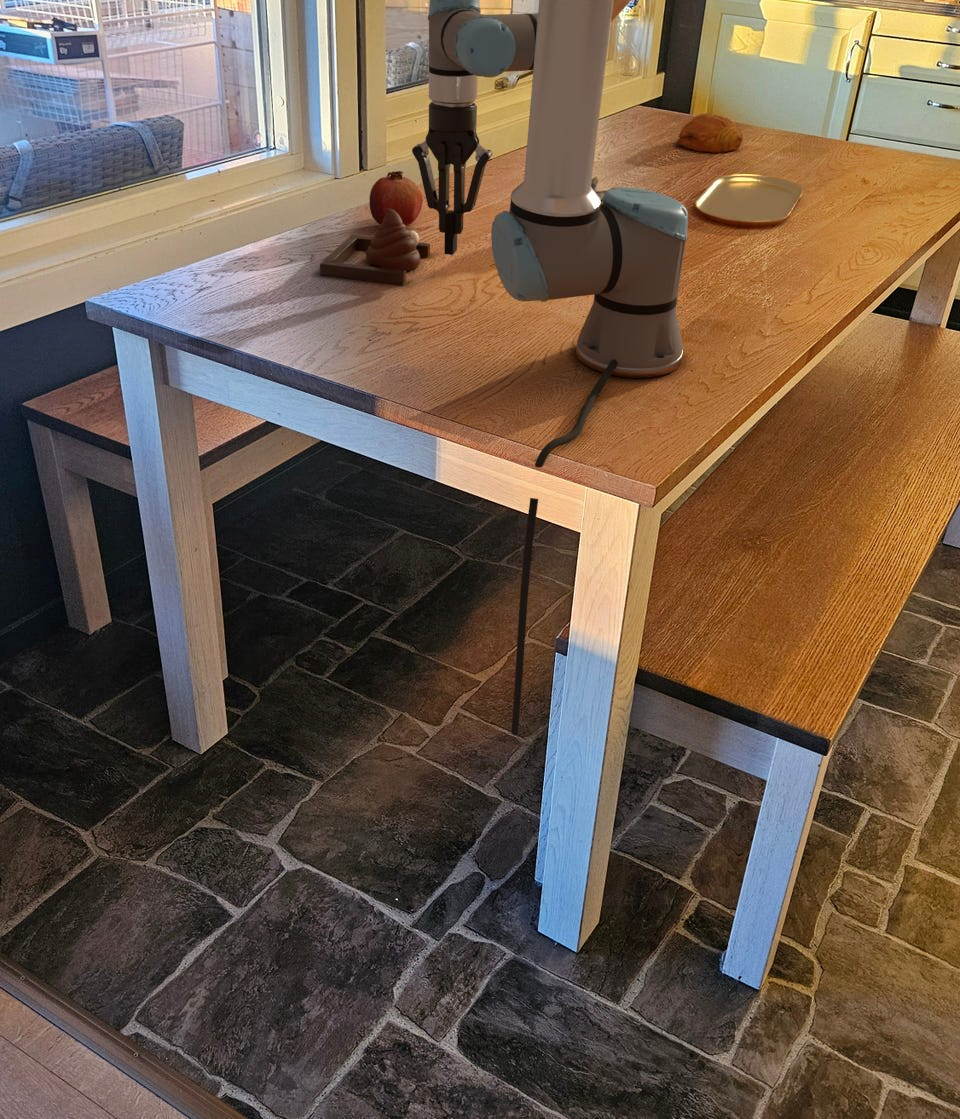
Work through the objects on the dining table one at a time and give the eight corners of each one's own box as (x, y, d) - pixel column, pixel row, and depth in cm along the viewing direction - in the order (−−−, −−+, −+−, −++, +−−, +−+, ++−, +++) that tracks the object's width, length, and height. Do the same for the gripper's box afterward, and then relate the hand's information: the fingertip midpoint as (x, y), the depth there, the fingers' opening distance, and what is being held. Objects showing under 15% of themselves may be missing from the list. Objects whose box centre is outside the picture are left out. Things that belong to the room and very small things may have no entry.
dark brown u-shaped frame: (403, 285, 179) (403, 273, 177) (320, 275, 181) (319, 263, 180) (430, 254, 191) (430, 243, 190) (352, 245, 194) (351, 234, 193)
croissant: (701, 144, 272) (703, 110, 269) (751, 149, 262) (754, 113, 258) (662, 150, 264) (664, 115, 261) (712, 155, 254) (714, 118, 250)
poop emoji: (355, 262, 187) (353, 208, 181) (389, 251, 192) (389, 198, 187) (397, 277, 182) (397, 221, 176) (431, 265, 187) (432, 210, 182)
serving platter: (684, 220, 213) (685, 212, 212) (722, 177, 240) (723, 169, 239) (780, 234, 208) (781, 226, 207) (807, 189, 234) (809, 181, 233)
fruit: (389, 214, 210) (389, 161, 204) (433, 224, 206) (433, 170, 200) (357, 228, 202) (355, 173, 196) (401, 239, 198) (400, 183, 192)
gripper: (499, 100, 170) (493, 249, 183) (419, 94, 172) (419, 241, 186) (488, 109, 164) (483, 263, 177) (405, 103, 166) (406, 255, 180)
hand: (450, 251), depth 181 cm, fingers closed
